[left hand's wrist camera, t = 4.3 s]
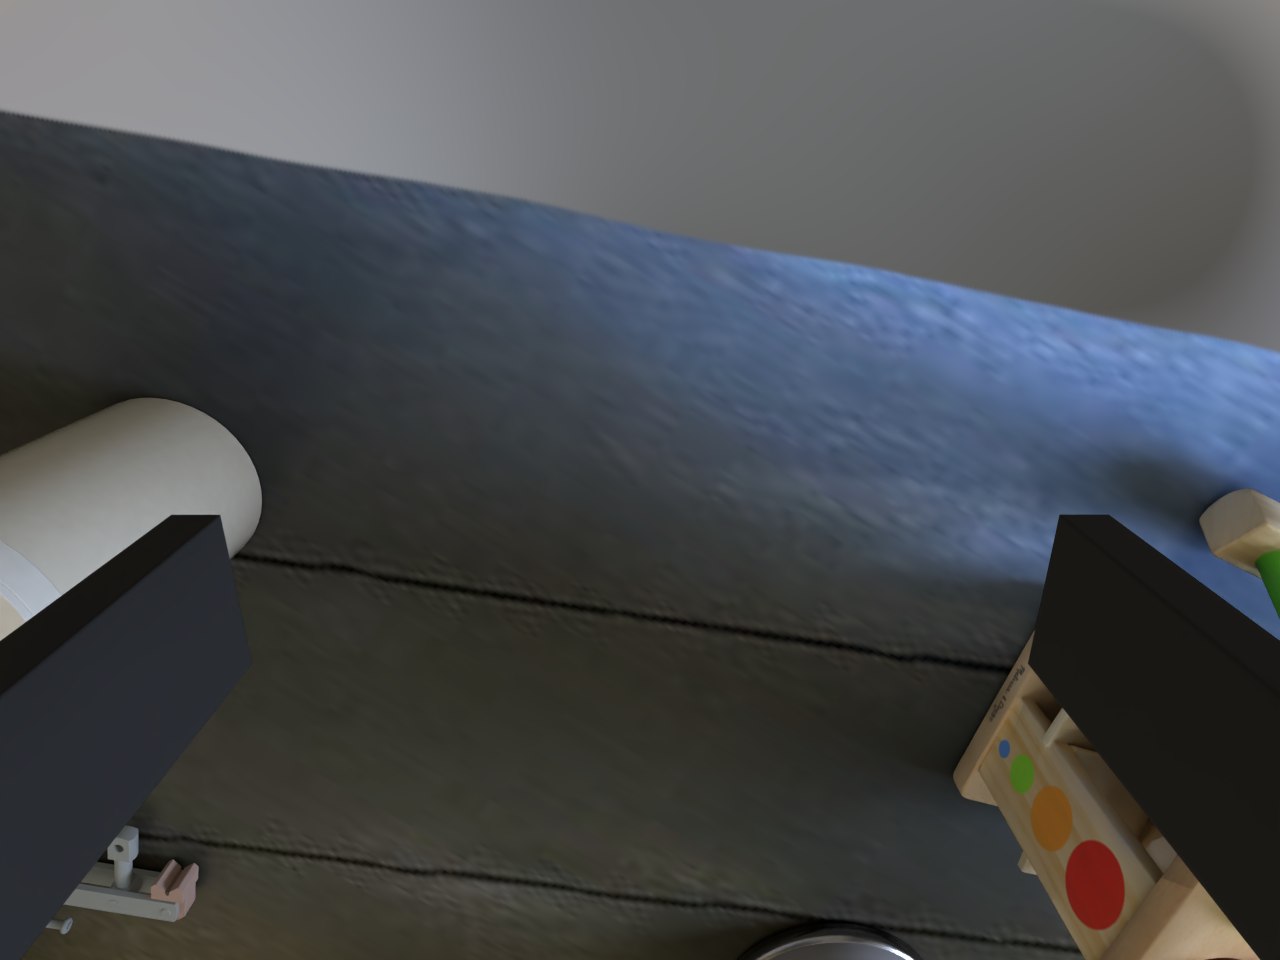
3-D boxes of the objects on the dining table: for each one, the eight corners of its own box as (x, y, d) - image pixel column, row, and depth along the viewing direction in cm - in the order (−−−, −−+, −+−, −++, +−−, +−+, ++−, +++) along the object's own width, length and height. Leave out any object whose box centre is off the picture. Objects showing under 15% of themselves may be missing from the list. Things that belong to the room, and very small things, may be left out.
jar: (36, 463, 42) (-307, 630, 27) (165, 360, 40) (-126, 478, 25) (173, 596, 45) (-65, 815, 30) (300, 507, 43) (114, 693, 28)
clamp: (182, 857, 49) (179, 968, 52) (200, 829, 51) (197, 937, 54) (-74, 815, 47) (-58, 931, 51) (-44, 788, 49) (-31, 901, 53)
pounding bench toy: (1133, 448, 41) (1469, 638, 24) (1368, 519, 43) (1834, 744, 26) (947, 780, 49) (1104, 1093, 33) (1149, 830, 51) (1399, 1153, 34)
